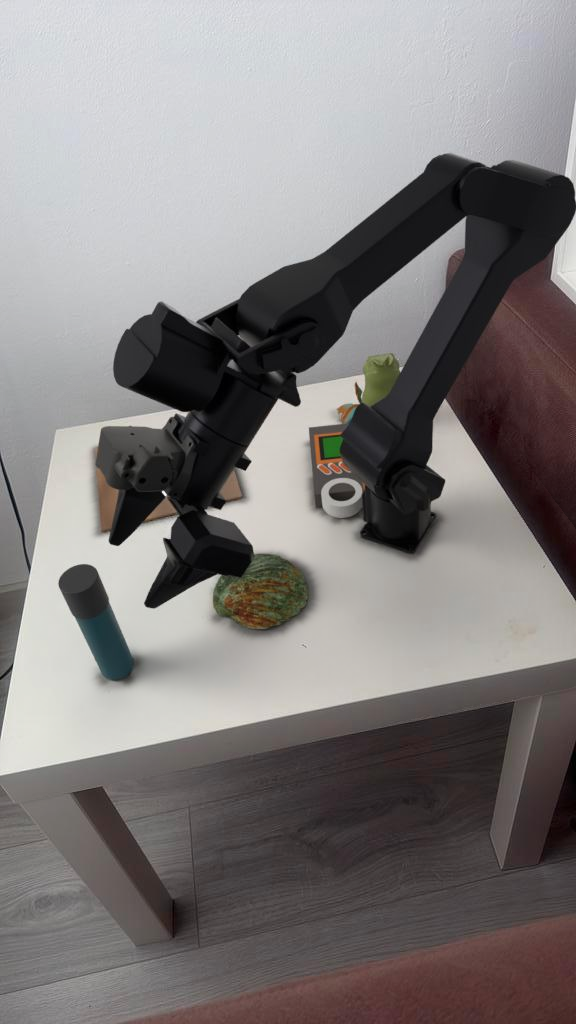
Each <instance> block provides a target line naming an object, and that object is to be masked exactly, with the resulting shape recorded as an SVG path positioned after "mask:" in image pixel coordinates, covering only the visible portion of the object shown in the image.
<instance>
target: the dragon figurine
mask: <svg viewBox="0 0 576 1024" xmlns="http://www.w3.org/2000/svg"><path fill="white" fill-rule="evenodd" d="M354 392H355V396H356V399H357V401H358V403H350V402H349V403H344V404H342V405H340V406H339V407H337V408H336V411H337V415H340V414H341V424H346V423H350V421H351V419H352V417H353V414H354V412H355V409H356V407H357V406H358V405H359V404H360V403H362V395H363V390H362V388H360V387H359V385H358V383H357V381H355V382H354Z"/></svg>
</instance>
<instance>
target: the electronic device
mask: <svg viewBox="0 0 576 1024" xmlns="http://www.w3.org/2000/svg"><path fill="white" fill-rule="evenodd" d="M348 425H349V423H346V424H342V423H337V424H328V425H319V426H318V425H317V426H309V427H308V436H309V437H308V438H309V446H310V447H309V449H310V459H311V470H312V471H311V472H312V483H313V494H314V495H313V496H314V502H315V504H314V505H315V509H321V508H322V509H323V511H324V512H325V513H326V514H327V515H329V516H331V517H334V518H337V519H339V518H340V519H343V518H345V519H346V518H350V517H353V516H354V515H356V514H357V513H358V514H359V512H360V511H361V509H362V493H363V491H364V490H365V484H364V483H363V482H362V481H361V480H360V479H359V478H357V477H356V476H355V475H354V474H353V473H352V472H351V471H350V470H349V469H348V468H346V466H345V465H344V464H343V463H342V459H341V454H340V453H339V451H340V446H341V443H342V441H343V438H342V437H341V436H340V434H341V433H342V432H343V431H344V430H345V429H346V428H347V426H348Z"/></svg>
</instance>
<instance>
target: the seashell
mask: <svg viewBox="0 0 576 1024" xmlns="http://www.w3.org/2000/svg"><path fill="white" fill-rule="evenodd" d="M254 556H255V558H254V559H253V561H252V562H251V564H250V565H249V567H248V568H247V570H246V571H245V573H244V574H243V576H242V577H241V578H239V577H235V576H231V575H229V576H224V575H219V578H218V580H217V582H216V583H215V586H214V589H213V593H212V605H213V609H214V611H215V613H216V615H217V616H219V617H227V618H231V619H234V623H236V624H238V625H240V626H242V627H245V628H247V629H252V630H268V629H270V628H272V627H274V626H281V625H282V623H284V622H287V621H290V618H291V617H295V616H297V615H298V614H299V613H300V612H301V609H303V608H304V607H305V606H306V605H307V600H308V597H309V595H308V592H309V588H308V586H307V584H308V583H307V581H306V580H305V579H304V578H305V576H304V574H303V573H302V572H301V569H299V568H298V567H296V566H295V565H294V564H292V562H290V561H289V560H288V559H284V558H282V557H281V556H280V555H276V554H272V553H254Z"/></svg>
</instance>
